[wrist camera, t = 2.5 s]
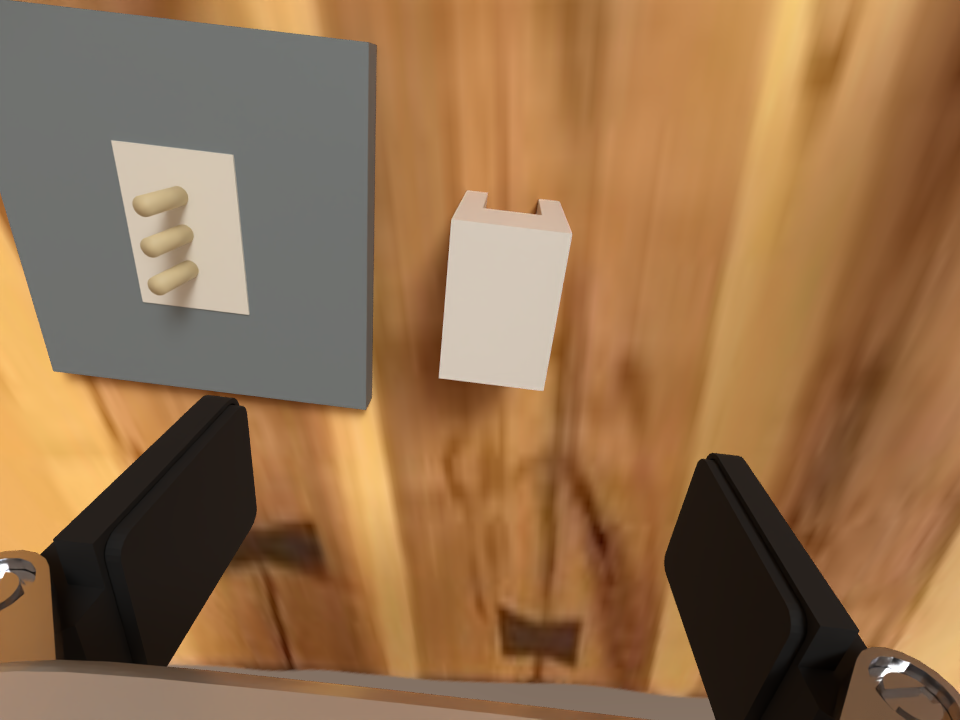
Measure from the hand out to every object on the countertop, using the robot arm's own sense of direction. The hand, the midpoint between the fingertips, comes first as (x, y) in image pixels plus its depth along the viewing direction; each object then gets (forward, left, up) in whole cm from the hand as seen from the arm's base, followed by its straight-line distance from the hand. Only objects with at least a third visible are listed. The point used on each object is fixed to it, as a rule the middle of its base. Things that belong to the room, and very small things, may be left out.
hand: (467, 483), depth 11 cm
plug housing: (0, 0, -15) cm, 15 cm away
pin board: (+14, 0, -15) cm, 20 cm away
